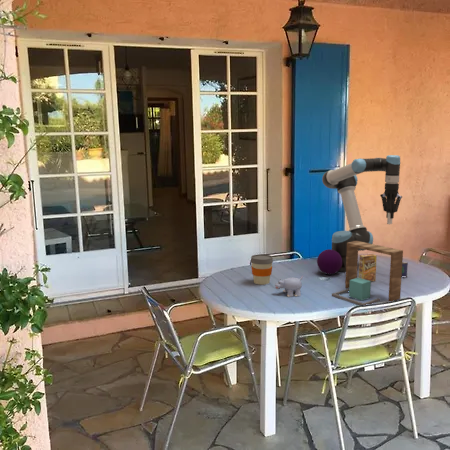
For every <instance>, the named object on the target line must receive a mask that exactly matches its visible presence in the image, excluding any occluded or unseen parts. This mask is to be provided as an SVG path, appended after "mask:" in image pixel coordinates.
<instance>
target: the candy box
mask: <svg viewBox="0 0 450 450" xmlns="http://www.w3.org/2000/svg"><path fill="white" fill-rule="evenodd" d="M377 257H378V256H377V255H376V254H374V253H369V254H359V261H358V263H359V265H358V278H361V279H365V280H369V281H371V282H376V278H377V277H376V276H377V275H376V274H377Z"/></svg>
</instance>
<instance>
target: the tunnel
mask: <svg viewBox="0 0 450 450" xmlns="http://www.w3.org/2000/svg"><path fill="white" fill-rule="evenodd" d="M358 248H360V249H365V250H364V251H371V252H375V253H378V254H383V255H389V256H390V264H389V265H390V266H389V267H390V269H389V281H388V282H389V285H388V299H387V300H388V302H389V301H392V302H394V301H393V300H395V301H398V300H400V299H401V294H402V293H401V289H402V278H401V277H402V262H404V261H403V259H404V256H403V255H404V250H403V249H397V248H392V247H389V246H384V245H379V244H374V243H373V244H370V243H365V242H360V241H353V242H348V243H347V254H346V272H345V285H344V288H345V289H349V285H350V280H352V279H355V278H358V267H359V265H358V263H359V261H358V260H359V251H358ZM397 299H398V300H397Z"/></svg>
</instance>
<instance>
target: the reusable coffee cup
mask: <svg viewBox="0 0 450 450" xmlns="http://www.w3.org/2000/svg"><path fill="white" fill-rule="evenodd" d="M250 262H251V266H250V267H251V268H250V269H251V274H252V276H253V283H254V284H255V285H260V286H261V285H263V286H264V285H268V284H270V282H271V276H272V273H273V263H274V259H273V256H272V255H270V254H263V253H262V254H261V253H259V254H258V253H257V254H254V255H251V257H250Z"/></svg>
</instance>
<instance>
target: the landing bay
mask: <svg viewBox="0 0 450 450" xmlns="http://www.w3.org/2000/svg"><path fill="white" fill-rule="evenodd" d="M348 291H349V288H345V289H343V290H339V291H336V292H333V293H331V296H332V297H333V298H336V299H340V300H343V301H346V302H349V303H352V304H355V305H357V306H360V305H366V304H370V305H372V303H373V304H376V303H378V302H380V301H381V298H379V297H377V298H375V299H372V300H368V301H366V302H361V301H358V300H356V299H352V298H348V297H346V296H342V295H343V294H346V293H349V292H348ZM339 294H340V295H339Z"/></svg>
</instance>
